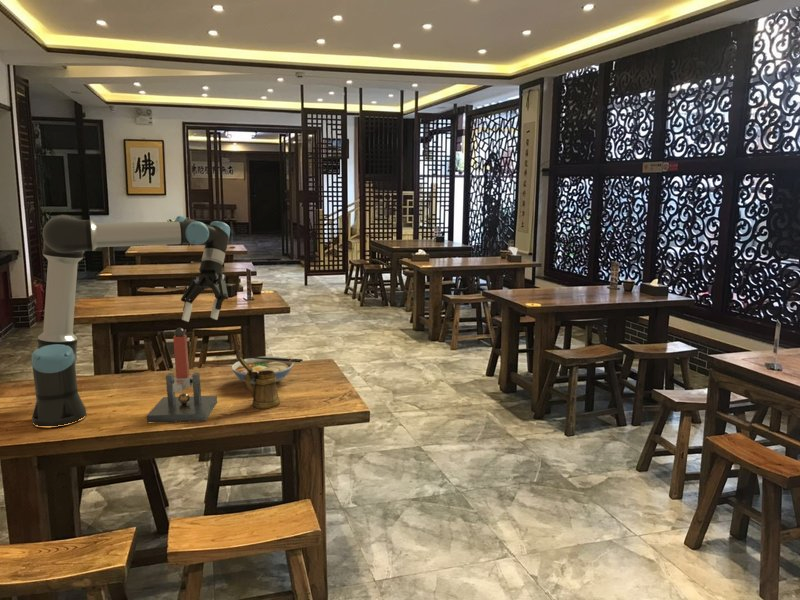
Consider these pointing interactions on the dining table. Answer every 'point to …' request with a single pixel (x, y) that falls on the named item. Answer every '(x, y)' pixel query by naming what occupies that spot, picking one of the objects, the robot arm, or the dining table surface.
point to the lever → (181, 361)
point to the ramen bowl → (265, 366)
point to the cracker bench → (182, 404)
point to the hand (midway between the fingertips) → (199, 319)
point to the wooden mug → (261, 386)
